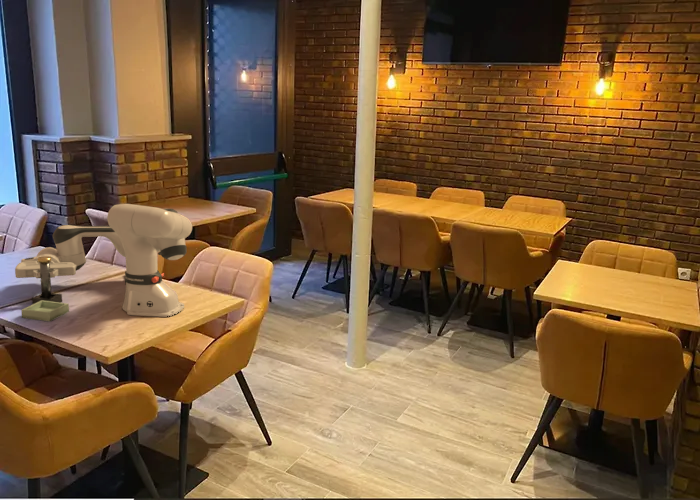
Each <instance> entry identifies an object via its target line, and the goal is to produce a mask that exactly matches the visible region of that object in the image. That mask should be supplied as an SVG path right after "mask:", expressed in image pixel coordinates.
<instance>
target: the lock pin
mask: <svg viewBox="0 0 700 500" xmlns="http://www.w3.org/2000/svg"><path fill="white" fill-rule="evenodd" d="M38 262H40V274H41V278H40V286H41V287H40V289H41V294H42V298H51V297H52V296H51V293H52V281H51V278H50V262H51V257H49V256H43V257H38Z"/></svg>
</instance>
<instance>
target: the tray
mask: <svg viewBox="0 0 700 500" xmlns="http://www.w3.org/2000/svg"><path fill="white" fill-rule="evenodd" d="M69 307H70V305H69V303H67V302H66V303H65V302H61V303H59V302H51V301H43V300H41V301H39V302H37V303H35V304H33V303H32V304H31V305H28V306H27V307H24V308H23V309H21V319H28V320H35V321H44V322H52V321H54V320H56V319H57V318H60V317H61V316H64V315H65V314H67V313H69V312H70V308H69Z"/></svg>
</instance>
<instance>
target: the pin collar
mask: <svg viewBox="0 0 700 500" xmlns="http://www.w3.org/2000/svg"><path fill="white" fill-rule="evenodd" d="M51 296H52V297H51V298H42V293H40V294H38V295H36V296H33V297H32V298H31V303H32V305H33V304H35V303H37V302H39V301H41V300H43V301H51V302H59V303H63V294H61V293H56V292H55V293H54V292H51Z"/></svg>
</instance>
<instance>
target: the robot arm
mask: <svg viewBox="0 0 700 500" xmlns="http://www.w3.org/2000/svg"><path fill="white" fill-rule="evenodd" d="M106 218H107V220H106V221H107V223H108V225H68V224H64V225H60V226H57V227H56V229H55V230H54V232H53V233H52V239H53V242H54V244H55V247H56V248H54V247H51V246H49V247H45V248H43V249H40V251H39V252H38V253H37V255H36V256H33V257H28V258H27V257H26V258H21V260H20V262H18V263H17V265H16V266H15V268H14V275H15V278H16V279H25V278H36V279H41V274H40V262H38V257H43V256H49V257H51V262H50V278H55V277H67V276H75V275H76V272H77V271H79V270H81V269H82V268H83V267H84V265H85V264H86V262H87V259H86V254H85V249H84V245H83V241H82V238H83V237H84V238H85V237H86V238H88V237H93V238H94V237H95V238H96V237H103V238H106V239H107V240H108V241H110V242H111V244H112V245H113V246H114V248H115V249H116V250H117V252H118V254H119V255H120V256H122V257H123V258H125V272H124V284H125V294H124V300H123V304H122V306H121V308H122V310H123V311H124V312H126V313H127V314H126V315H128V316H142V317H143V316H144V317H160V318H164V317H165V318H169V316H170V317H173V316H175V315H174V314H176V315H177V313H178V312H179V313H181V312H182V311H183V310H184V309H185V307H184V306H185V303H184V302H181V301H179V297H178V296H179V295H178V293H177V291H176V290H175V289H173V288H172V286H171V287H170V286H169V285H168V284H167V283H166V282H164V281H163V277H164V276H165V273H164V272H162V273H160V272H159V270H158V255H159V256H161V257H162V258H163V259H165V260H168V261H177V260H179V259H181V258H183V257H185V256H186V254H187V252H188V251H187V245H186V238H187V237H188V238H189V236H190V235H191V233H192V231H193V224H192V222H191V220H190V219H189V218H188V217H187V216H185V215H182V214H181V213H179V212H178V211H177V210H175V209H173V208H161V207H155V206H154V207H153V206H148V205H140V204H131V203H120V204H119V203H118V204H114V205H113V206H112V207H110V209H109V210H108V212H107V217H106ZM183 308H184V309H183ZM182 309H183V310H182ZM181 310H182V311H181ZM180 311H181V312H180ZM179 313H178V314H179ZM172 315H173V316H172ZM167 316H168V317H167Z"/></svg>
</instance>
